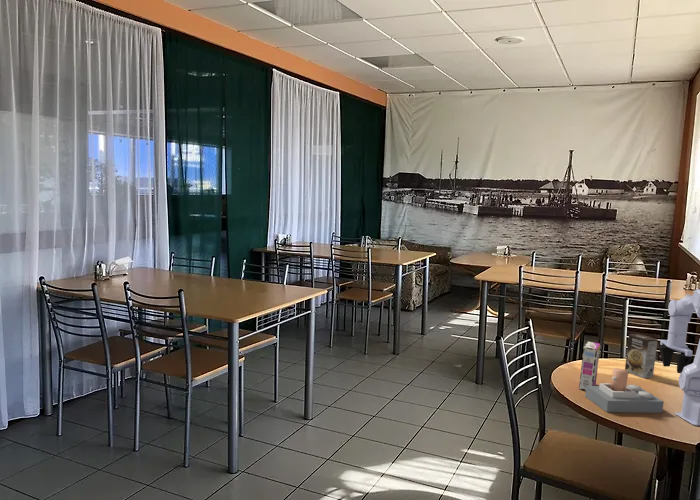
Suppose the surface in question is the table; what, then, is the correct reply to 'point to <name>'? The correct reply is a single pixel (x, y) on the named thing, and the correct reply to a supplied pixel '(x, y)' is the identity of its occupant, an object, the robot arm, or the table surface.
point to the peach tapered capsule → (619, 379)
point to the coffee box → (641, 355)
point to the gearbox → (624, 399)
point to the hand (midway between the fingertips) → (673, 369)
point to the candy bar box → (589, 365)
